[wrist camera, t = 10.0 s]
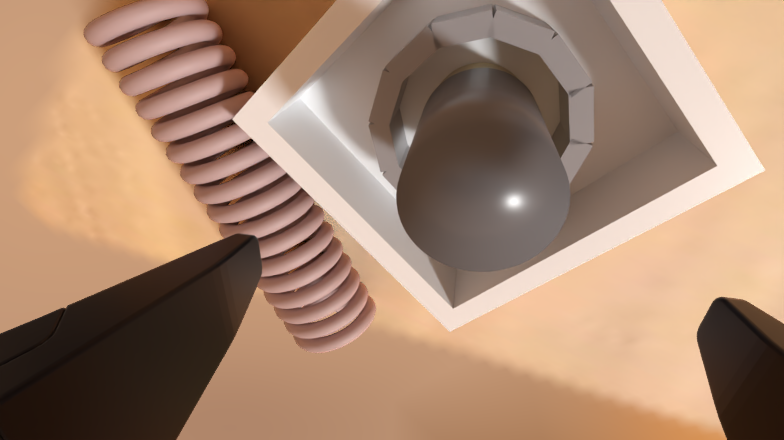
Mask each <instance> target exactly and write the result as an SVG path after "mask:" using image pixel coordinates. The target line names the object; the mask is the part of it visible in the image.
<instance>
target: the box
mask: <svg viewBox="0 0 784 440" xmlns="http://www.w3.org/2000/svg"><path fill="white" fill-rule="evenodd" d="M472 63H492V64H496V65H499V66H501V67H504V68H506V69H507V70H509V71H510V72H511V73H513V74H514V75H515V76H516V77H517V78H518V79H519V80H520V81H521V82H522V83H523V84H525V86H526V87H527V88H528V89H529V90H530V92H531V93H532V95H533V96H534V99H535V101H536V103H537V105H538V108H539V110H540V112H541V115H542V117H543V119H544V121H545V124H546V126H547V128H548V131H549V133H550V135H551V138H552V140H553V142H554V145H555V147H556V149H557V152H558V154H559V156H560V159H561V161H562V163H563V166H564V168H565V170H566V173H567V176H568V180H569V184H570V206H569V210H568V214H567V217H566V220H565V223H564V225H563V226H562V228H561V230H560V232H559V233H558V235H557V236H556V237H555V239H554V240H553V241H552V242H551V243H550V244H549V245H548V246H547V247H546V248H545V249H544V250H543V251H542V252H540V253H539V254H538V255H536V256H535V257H533V258H532V259H530V260H528V261H526V262H524V263H522V264H520V265H517V266H514V267H511V268H508V269H503V270H499V271H491V272H474V271H465V270H460V269H456V268H453V267H449V266H447V265H445V264H442V263H440V262H438V261H436V260H434V259H433V258H431V257H430V256H428V255H427V254H425V253H424V252H423V251H422V250H421V249H419V248H418V247H417V246H416V245H415V244H414V242H413V241H412V240H411V239H410V237H409V236H408V234H407V233H406V231H405V230H404V228H403V225H402V223H401V221H400V218H399V215H398V210H397V204H396V192H397V184H398V181H399V177H400V174H401V171H402V168H403V165H404V163H405V160H406V157H407V154H408V151H409V149H410V146H411V143H412V140H413V137H414V135H415V132H416V129H417V126H418V123H419V121H420V118H421V115H422V112H423V109H424V107H425V105H426V102H427V100H428V99H429V97H430V95H431V94H432V93H433V91H434V90H435V89H436V88H437V87H438V86H439V85H440V83H441V82H442V81H443V80H444V79H445V78H446V77H447V76H448V75H449V74H450V73H452V72H453V71H455V70H456V69H458V68H460V67H462V66H465V65H468V64H472ZM232 120H233V121H234V122H235V123H236V124H237V125H238V126H239V127H240V128H241V129H242V130H243V131H245V132H246V133H247V134H248V135H249V136H250V137H251V138H252V139H253V140H254V141H255V142H256V143H257V144H258V145H259V146H260V147H261V148H262V149H263V150H264V151H265V152H266V153H267V154H268V155H269V156H270V157H271V158H272V159H273V160H274V161H275V162H276V163H277V164H278V165H279V166H280V167H281V168H282V169H283V170H284V171H285V172H287V173H288V174H289V175H290V176H291V177H292V178H293V179H294V180H295V181H296V182H297V183H298V184H299V185H300V186H301V187H302V188H303V189H304V190H305V191H306V192H307V193H308V194H309V195H310V196H311V197H312V198H313V199H314V200H315V201H316V202H317V203H318V204H319V205H320V206H321V207H322V208H323V209H324V210H325V211H326V212H328V213H329V214H330V215H331V216H332V217H333V218H334V219H335V220H336V221H337V222H338V223H339V224H340V225H341V226H342V227H343V228H344V229H345V230H346V231H347V232H348V233H349V234H350V235H351V236H352V237H353V238H354V239H355V240H356V241H357V242H358V243H359V244H360V245H361V246H362V247H363V248H364V249H365V250H366V251H367V252H368V253H370V254H371V255H372V256H373V257H374V258H375V259H376V260H377V261H378V262H379V263H380V264H381V265H382V266H383V267H384V268H385V269H386V270H387V271H388V272H389V273H390V274H391V275H392V276H393V277H394V278H395V279H396V280H397V281H398V282H399V283H400V284H401V285H402V286H403V287H404V288H405V289H406V290H407V291H408V292H409V293H411V294H412V295H413V296H414V297H415V298H416V299H417V300H418V301H419V302H420V303H421V304H422V305H423V306H424V307H425V308H426V309H427V310H428V311H429V312H430V313H431V314H432V315H433V316H434V317H435V318H436V319H437V320H438V321H439V322H440V323H441V324H442V325H443V326H444V327H445V328H446V329H447V330H448V331H449V332H450V331H452V330H454V329H456V328H458V327H460V326H462V325H464V324H466V323H468V322H470V321H472V320H474V319H476V318H478V317H480V316H482V315H484V314H486V313H488V312H490V311H491V310H493V309H495V308H497V307H499V306H501V305H503V304H505V303H507V302H509V301H511V300H513V299H515V298H517V297H519V296H521V295H523V294H525V293H527V292H529V291H531V290H533V289H534V288H536V287H538V286H540V285H542V284H544V283H546V282H548V281H550V280H552V279H554V278H556V277H558V276H560V275H562V274H564V273H566V272H568V271H570V270H572V269H574V268H575V267H577V266H579V265H581V264H583V263H585V262H587V261H589V260H591V259H593V258H595V257H597V256H599V255H601V254H603V253H605V252H607V251H609V250H611V249H613V248H615V247H617V246H618V245H620V244H622V243H624V242H626V241H628V240H630V239H632V238H634V237H636V236H638V235H640V234H642V233H644V232H646V231H648V230H650V229H652V228H654V227H656V226H658V225H659V224H661V223H663V222H665V221H667V220H669V219H671V218H673V217H675V216H677V215H679V214H681V213H683V212H685V211H687V210H689V209H691V208H693V207H695V206H697V205H699V204H701V203H702V202H704V201H706V200H708V199H710V198H712V197H714V196H716V195H718V194H720V193H722V192H724V191H726V190H728V189H730V188H732V187H734V186H736V185H738V184H740V183H742V182H743V181H745V180H747V179H749V178H751V177H753V176H755V175H757V174H759V173H761V172H763V171H765V169H764V168H763V166H762V164H761V163H760V161H759V160H758V158H757V156H756V155H755V153H754V151H753V150H752V148H751V146H750V145H749V143H748V141H747V140H746V138H745V137H744V135H743V133H742V132H741V130H740V128H739V127H738V125H737V123H736V122H735V120H734V119H733V117H732V115H731V114H730V112H729V110H728V109H727V107H726V105H725V104H724V102H723V100H722V99H721V97H720V96H719V94H718V92H717V91H716V89H715V87H714V86H713V84H712V82H711V81H710V79H709V78H708V76H707V74H706V73H705V71H704V69H703V68H702V66H701V64H700V63H699V61H698V59H697V58H696V56H695V55H694V53H693V51H692V50H691V48H690V46H689V45H688V43H687V41H686V40H685V38H684V36H683V35H682V33H681V32H680V30H679V28H678V27H677V25H676V23H675V22H674V20H673V18H672V17H671V15H670V14H669V12H668V10H667V9H666V7H665V5H664V4H663V2H662V0H336V1H335V2H334V4H333V5H332V6H331V7H330V8H329V9H328V10H327V12H326V13H325V14H324V15H323V16H322V17H321V18H320V20H319V21H318V22H317V23H316V24H315V25H314V26H313V28H312V29H311V30H310V31H309V32H308V33H307V34H306V36H305V37H304V38H303V39H302V40H301V41H300V42H299V44H298V45H297V46H296V47H295V48H294V49H293V50H292V52H291V53H290V54H289V55H288V56H287V57H286V58H285V59H284V61H283V62H282V63H281V64H280V65H279V66H278V67H277V69H276V70H275V71H274V72H273V73H272V74H271V75H270V77H269V78H268V79H267V80H266V81H265V82H264V83H263V85H262V86H261V87H260V88H259V89H258V90H257V91H256V93H255V94H254V95H253V96H252V97H251V98H250V99H249V101H248V102H247V103H246V104H245V105H244V106H243V107H242V109H241V110H240V111H239V112H238V113H237V114H236V115H235V117H234V118H233V119H232Z"/></svg>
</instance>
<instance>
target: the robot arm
mask: <svg viewBox="0 0 784 440" xmlns="http://www.w3.org/2000/svg"><path fill="white" fill-rule="evenodd" d="M261 275H262V260H261V254H260V247H259V241H258V239H257V237H256V236H254V235H249V234H242V233H236V234H234V235H231V236H229V237H227V238H224V239H222V240H220V241H217V242H215V243H213V244H210V245H208V246H206V247H203V248H201V249H199V250H196V251H194V252H192V253H189V254H187V255H185V256H182V257H180V258H178V259H175V260H173V261H171V262H168V263H166V264H164V265H161V266H159V267H157V268H154V269H152V270H150V271H147V272H145V273H143V274H140V275H138V276H136V277H133V278H131V279H129V280H126V281H124V282H122V283H119V284H117V285H115V286H113V287H110V288H108V289H105V290H103V291H101V292H98V293H96V294H94V295H91V296H89V297H87V298H84V299H82V300H79V301H77V302H75V303H72V304H70V305H68V306H67V307H66V308H61V309H58V310H56V311H54V312H51V313H49V314H47V315H44V316H42V317H40V318H37V319H35V320H32V321H30V322H28V323H25V324H23V325H20V326H18V327H16V328H13V329H11V330H8V331H6V332H3V333H1V334H0V440H176V439H177V437H178V436H179V434H180V432H181V431H182V429H183V427H184V425H185V423H186V422H187V420H188V418H189V417H190V415H191V413H192V411H193V410H194V408H195V406H196V404H197V403H198V401H199V399H200V397H201V395H202V394H203V392H204V390H205V389H206V387H207V385H208V383H209V382H210V380H211V378H212V376H213V375H214V373H215V371H216V369H217V368H218V366H219V364H220V362H221V361H222V359H223V357H224V355H225V354H226V352H227V350H228V348H229V346H230V345H231V343H232V341H233V339H234V337H235V335H236V333H237V331H238V329H239V327H240V324H241V322H242V320H243V318H244V315H245V313H246V310H247V308H248V306H249V303H250V301H251V299H252V297H253V294H254V292H255V290H256V287H257V285H258V283H259V281H260V278H261ZM697 342H698V346H699V349H700V353H701V357H702V360H703V364H704V368H705V371H706V375H707V378H708V382H709V386H710V389H711V393H712V397H713V400H714V404H715V407H716V410H717V413H718V417H719V420H720V422H721V425H722V428H723V430H724V433H725V435H726V438H727V440H784V324H783V323H782V322H780V321H778V320H777V319H775V318H773V317H772V316H770V315H769V314H767V313H765V312H764V311H762V310H760V309H759V308H757V307H755V306H754V305H752V304H751V303H749V302H747V301H745V300H742V299H735V298H727V297H719V298H716V299H715V300H714V301H713V303H712V304H711V306H710V308H709V310H708V311H707V313H706V315H705V317H704V319H703V321H702V322H701V324H700V326H699V328H698V331H697Z"/></svg>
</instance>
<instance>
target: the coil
mask: <svg viewBox="0 0 784 440" xmlns="http://www.w3.org/2000/svg"><path fill="white" fill-rule="evenodd" d="M208 13H209V7H208V5H207V2H206V1H205V0H141V1H137V2H134V3H131V4H128V5H126V6H123V7H120V8H118V9H115V10H113V11H110V12H108V13H106V14H104V15H102V16H100V17H98V18H96V19H94V20H93V21H91V22H90V23H89V24H88V25H87V26H86V28H85V29H84V37H85V38H86V40H87V42H88V43H90V44H91V45H93V46H96V47H105V46H108V45H112V44H114V43H117V42H120V41H122V40H125V39H127V38H130V37H132V36H134V35H136V34H138V33H141V32H143V31H145V30H146V29H148V28H150V27H152V26H154V25H156V24H157V23H159V22H161V21H163V20H167V19H171V18H175V17H178V18H177V19H175V20H174V21H172V22H171V23H169V24H168V25H166V26H165V27H163V28H161V29H158V30H155V31H152V32H149V33H146V34H143V35H141V36H138V37H135V38H133V39H130V40H128V41H126V42H123V43H121V44H119V45H117V46H115V47H113V48H111V49H109V50H108V51H106V52H105V53H104V55H103V56H102V63H103V64H104V66H105V68H107V69H108V70H110V71H112V72H119V71H122V70H125V69H128V68H130V67H132V66H134V65H137V64H139V63H141V62H143V61H145V60H147V59H149V58H151V57H154V56H156V55H159V54H162V53H165V52H168V51H171V50H174V49H177V48H180V47H181V48H180V49H178V50H176V51H175V52H173V53H171V54H169V55H168V56H166V57H164V58H162V59H160V60H159V61H157V62H155V63H153V64H151V65H149V66H147V67H145V68H143V69H141V70H139V71H136V72H134V73H132V74H129V75H127V76H125V77H123V78H122V79H121V81H120V82H119V87H120V89H121V91H122V92H123V93H124V94H126V95H128V96H136V95H139V94H142V93H144V92H147V91H150V90H152V89H155V88H157V87H160V86H162V85H165V84H168V83H170V82H172V83H170V84H168V85H166V86H165V87H163V88H161V89H159V90H158V91H156V92H154V93H152V94H150V95H149V96H147V97H145V98H143V99H142V100H140V101H139V102H138V103H137V105H136V112H137V114H138V115H139V116H140V117H142V118H143V119H149V120H151V119H155V118H158V117H161V116H164V115H165V116H164V117H162V118H161V119H159V120H158V121H157V122H156V123H155V124H154V125H153V126H152V128H151V134H152V135H153V137H154V138H155V139H156V140H158V141H161V142H170V141H172V142H171V143H170V145H169V146H168V147H167V149H166V155H167V157H168V159H169V160H171V161H172V162H174V163H184V164H183V166H182V167H181V171H180V175H181V177H182V179H183V180H184V181H185V182H187V183H189V184H196V185H195V187H194V196H195V197H196V199H197V200H198V201H200V202H201V203H204V204H208V205H207V214H208V216H209V218H210V219H211V220H213V221H215V222H217V223H220V225H219V231H220V233H221V235H222V236H223V237H224V238H227V237H229V236H231V235H234V234H236V233H242V234H249V235H254V236H256V237H257V239H258V241H259V247H260V254H261V260H262V275H261V278H260V281H259V283H258V285H257V287H258V288H259V289H261V290H263V291H264V296H265V298H266V300H267V301H268V303H269V304H271V305H273V306H274V310H275V312H276V314H277V316H278V317H279V318H280V319H281V320H283V321H284V324H285V327H286V329H287V330H288V331H289V332H290V333H291V334H292V335H293V337H294V339H295V341H296V343H297V345H298V346H299V347H300V348H302V349H304V350H306V351H309V352H313V353H323V352H329V351H332V350H336V349H338V348H341V347H343V346H345V345H347V344H349V343H350V342H352V341H354V340H355V339H356V338H358V337H359V336H360V335H361V334H362V333H363V332H364V331H365V330H366V329H367V328H368V327H369V325H370V324H371V322H372V320H373V318H374V315H375V311H376V306H375V303H374V301H373V299H372V298H371V297H370V296H368V291H367V288H366V286H365V285H364V284H363V283H362V282H360V277H359V274H358V272H357V271H356V270H355V269H354V268H352V267H351V260H350V258H349V256H348V255H346V254H345V253H343V252H342V250H343V246H342V244H341V242H340V241H339V240H338V239H337V238H335V237H333V233H334V230H333V228H332V225H330V224H329V223H328V222H325V221H323V219H324V212H323V210H322V208H320V207H319V206H317V205H313V203H314V199H313V198H312V197H311V196H310V195H309V194H308V193H307V192H306V191H305V190H304V189H303V188H301V186H300V185H299V184H298V183H297V182H296V181H295V180H294V179H293V178H292V177H291V176H290V175H289V174H288V173H287V172H285V171H284V170H283V169H282V168H281V167H280V166H279V165H278V164H277V163H276V162H275V161H274V160H273V159H272V158H271V157H269V155H268V154H267V153H266V152H265V151H264V150H263V149H262V148H261V147H260V146H259V145H258V144H257V143H256V142H255V141H253V142H252V143H250V144H248V145H246V146H245V147H243V148H241V149H239V150H238V151H236V152H234V153H232V154H230V155H227V156H225V157H222V158H219V159H217V158H218V157H220V156H221V155H223V154H224V153H226V152H227V151H229V150H230V149H232V148H234V147H235V146H237V145H238V144H240V143H242V142H245V141H247V140H249V139H251V137H250V136H249V135H248V134H247V133H246V132H245V131H243V130H242V129H241V128H240V127H239V126H238V125H237V124H234V125H232V126H229V127H227V128H225V129H223V128H224V127H226V126H228V125H229V124H231V123H233V122H234V121H233V120H232V119H233V118H234V117H235V115H236V114H237V113H238V112H239V111H240V110H241V109H242V107H243V106H244V105H245V104H246V103H247V102H248V101H249V99H250V98H251V97H252V96H253V95H254V94H255V92H251V91H248V92H245V93H242V94H239V95H236V96H233V95H235V94H236V93H238V92H239V91H241V90H242V89H243V88H244V87H245V86H246V85H247V84H248V76H247V74H246V73H245V72H244V71H243V70H240V69H231V70H228V69H229V68H230V67H231V66H232V65H233V64H234V63H235V59H236V55H235V53H234V51H233V50H232V49H231V48H230V47H229V46H225V45H218V44H219V43H220V42H221V40H222V35H223V33H222V30H221V27H220V26H219V25H218V24H217V23H215V22H213V21H210V20H206V19H207V17H208ZM173 81H174V82H173ZM232 96H233V97H232ZM221 129H222V130H221ZM219 130H220V131H219ZM268 157H269V158H268ZM216 159H217V160H216ZM260 161H261V162H260ZM258 162H259V163H258ZM256 163H257V164H256ZM254 164H255V165H254ZM252 165H253V166H252ZM250 166H252V167H250ZM248 167H250V168H248ZM246 168H248V169H247V170H245V171H244V172H242V173H241V174H239V175H238V176H236V177H235V178H233V179H232V180H231V181H228V182H225V183H222V184H220V183H221V182H222V181H223V180H225V179H226V178H227V177H228V176H230V175H232V174H235V173H237V172H239V171H242V170H244V169H246ZM242 196H243V197H242ZM239 197H242V198H240V199H239V200H238V201H237V202H236V203H235V204H232V205H228V204H229V203H230V202H231V201H232V200H234V199H237V198H239ZM245 219H246V220H245ZM242 220H245V221H244V222H243V223H242V224H239V225H238V223H239V222H240V221H242ZM291 227H292V228H291ZM289 228H290V229H289ZM287 229H288V230H287ZM311 237H313V238H312V239H311V240H309V241H308V242H307V243H305V244H303V245H301V246H300V247H298V248H296V249H295V250H293V251H291V252H289V253H287V254H285V255H283V254H284V253H286V252H287V251H288V250H289V249H291V248H292V247H294V246H295V245H297V244H298V243H300V242H302V241H304V240H306V239H309V238H311ZM323 251H325V252H324V254H321V255H319V256H317V255H318V254H319V253H320V252H323ZM315 256H316V257H315ZM334 265H336V266H335V267H333V266H334ZM299 266H300V267H299ZM297 267H298V268H297ZM295 268H297V269H296V270H295V271H293V272H292V273H290V274H288V273H289V272H290V271H291V270H292V269H295ZM297 288H299V289H298V290H297V291H295V289H297ZM294 291H295V292H294ZM302 306H303V307H302ZM301 307H302V308H301ZM335 311H336V312H337V313H336V314H334V315H332V316H331V317H328V318H326V319H324V320H321V321H317V322H313V321H316V320H319V319H321V318H323V317H326V316H328V315H330V314H331V313H333V312H335ZM358 314H359V315H358ZM357 315H358V316H357ZM356 316H357V318H356V319H355V320H354V321H353V322H352V323H351V324H350V325H348V326H347V327H346V328H344V329H342V330H341V331H339V332H337V333H334V334H332V335H328V334H330V333H333V332H335V331H337V330H339V329H341V328H342V327H344V326H345V325H347V324H348V323H350V322H351V321H352V320H353V319H354V318H355V317H356ZM309 322H312V323H309ZM326 335H328V336H326ZM322 336H324V337H322Z"/></svg>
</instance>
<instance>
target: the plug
mask: <svg viewBox="0 0 784 440" xmlns="http://www.w3.org/2000/svg"><path fill="white" fill-rule="evenodd" d="M396 204H397V210H398V215H399V218H400V221H401V223H402V225H403V228H404V230H405V231H406V233H407V234H408V236H409V237H410V239H411V240H412V241H413V242H414V244H415V245H416V246H417V247H418V248H419V249H421V250H422V251H423V252H424V253H425V254H427V255H428V256H430V257H431V258H433V259H434V260H436V261H438V262H440V263H442V264H445V265H447V266H449V267H453V268H456V269H460V270H465V271H474V272H491V271H499V270H503V269H508V268H511V267H514V266H517V265H520V264H522V263H524V262H526V261H528V260H530V259H532V258H533V257H535V256H536V255H538V254H539V253H540V252H542V251H543V250H544V249H545V248H546V247H547V246H548V245H549V244H550V243H551V242H552V241H553V240H554V239H555V237H556V236H557V235H558V233H559V232H560V230H561V228H562V226H563V225H564V223H565V220H566V217H567V214H568V210H569V206H570V184H569V180H568V176H567V173H566V170H565V168H564V166H563V163H562V161H561V159H560V156H559V154H558V152H557V149H556V147H555V145H554V142H553V140H552V138H551V135H550V133H549V131H548V128H547V126H546V124H545V121H544V119H543V117H542V115H541V112H540V110H539V108H538V105H537V103H536V101H535V99H534V96H533V95H532V93H531V92H530V90H529V89H528V88H527V87H526V86H525V84H523V83H522V82H521V81H520V80H519V79H518V78H517V77H516V76H515V75H514V74H513V73H511V72H510V71H509V70H507V69H506V68H504V67H501V66H499V65H496V64H492V63H472V64H468V65H465V66H462V67H460V68H458V69H456V70H455V71H453V72H452V73H450V74H449V75H448V76H447V77H446V78H445V79H444V80H443V81H442V82H441V83H440V85H439V86H438V87H437V88H436V89H435V90H434V91H433V93H432V94H431V95H430V97H429V99H428V100H427V102H426V105H425V107H424V109H423V112H422V115H421V118H420V121H419V123H418V126H417V129H416V132H415V135H414V137H413V140H412V143H411V146H410V149H409V151H408V154H407V157H406V160H405V163H404V165H403V168H402V171H401V174H400V177H399V181H398V184H397V192H396Z"/></svg>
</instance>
